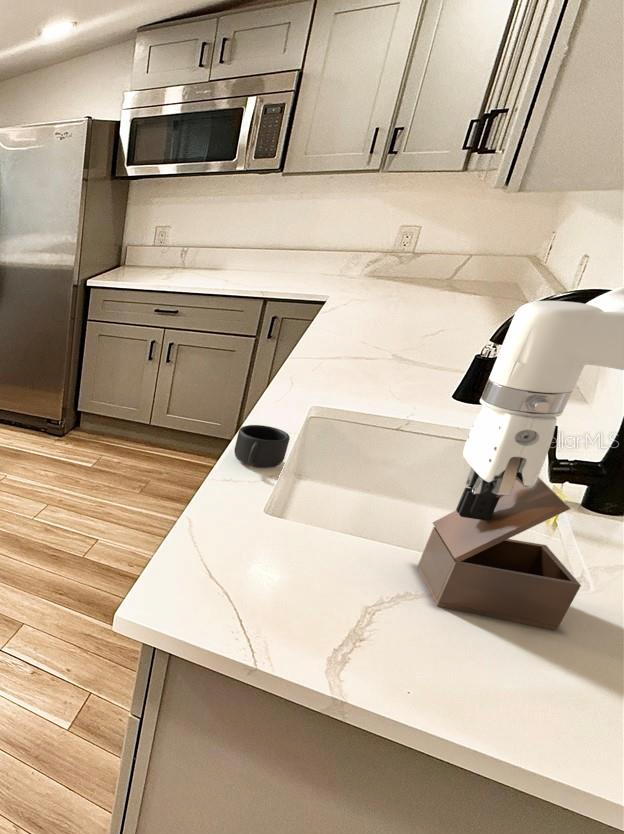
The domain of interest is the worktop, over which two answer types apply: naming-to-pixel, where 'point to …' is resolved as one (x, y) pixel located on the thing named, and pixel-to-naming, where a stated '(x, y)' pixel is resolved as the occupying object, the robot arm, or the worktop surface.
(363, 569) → the worktop surface
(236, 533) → the worktop surface
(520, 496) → the lid
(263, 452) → the mug
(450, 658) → the worktop surface
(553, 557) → the box
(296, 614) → the worktop surface
